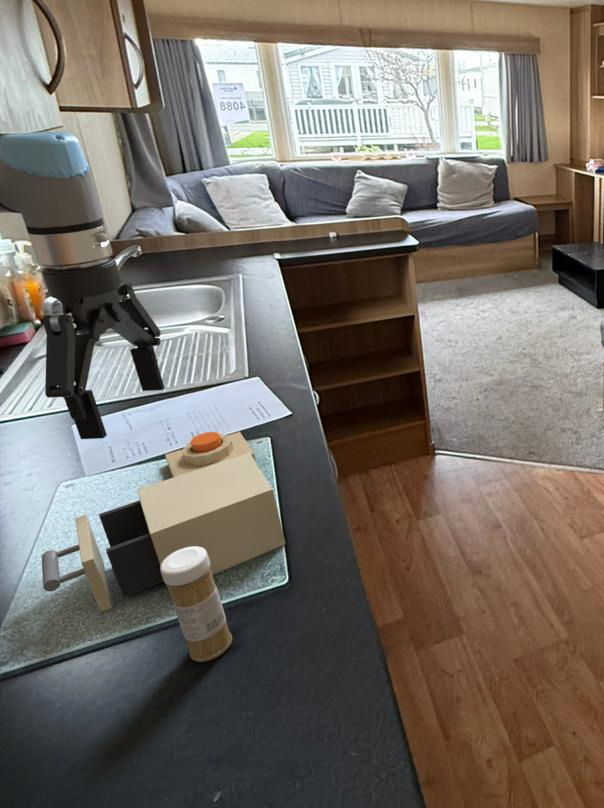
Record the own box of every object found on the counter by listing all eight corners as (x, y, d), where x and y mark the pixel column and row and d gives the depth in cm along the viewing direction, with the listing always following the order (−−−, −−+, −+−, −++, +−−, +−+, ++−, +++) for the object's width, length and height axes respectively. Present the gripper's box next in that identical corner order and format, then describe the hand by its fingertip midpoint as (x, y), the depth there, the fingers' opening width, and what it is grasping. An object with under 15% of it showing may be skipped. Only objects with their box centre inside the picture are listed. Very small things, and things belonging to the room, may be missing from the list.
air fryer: (169, 592, 86) (150, 533, 82) (154, 544, 95) (136, 489, 91) (285, 544, 94) (272, 489, 91) (262, 504, 103) (249, 452, 100)
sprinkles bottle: (221, 627, 80) (194, 539, 75) (240, 644, 78) (214, 554, 73) (182, 652, 77) (151, 561, 72) (200, 670, 74) (170, 578, 69)
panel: (178, 490, 107) (172, 470, 105) (168, 465, 114) (162, 445, 113) (256, 464, 114) (251, 444, 113) (242, 441, 121) (237, 422, 120)
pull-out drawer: (57, 630, 79) (35, 579, 76) (53, 578, 87) (33, 531, 84) (219, 563, 89) (206, 516, 87) (202, 523, 98) (190, 479, 95)
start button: (195, 456, 110) (193, 447, 109) (190, 446, 113) (188, 437, 112) (224, 447, 112) (222, 438, 112) (218, 437, 116) (216, 429, 115)
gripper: (37, 291, 70) (96, 460, 78) (163, 237, 93) (199, 372, 101) (-37, 294, 69) (30, 463, 77) (108, 239, 92) (148, 374, 100)
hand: (126, 412), depth 89 cm, fingers open, 13 cm apart
